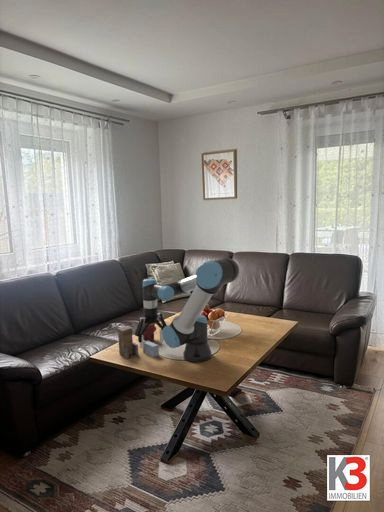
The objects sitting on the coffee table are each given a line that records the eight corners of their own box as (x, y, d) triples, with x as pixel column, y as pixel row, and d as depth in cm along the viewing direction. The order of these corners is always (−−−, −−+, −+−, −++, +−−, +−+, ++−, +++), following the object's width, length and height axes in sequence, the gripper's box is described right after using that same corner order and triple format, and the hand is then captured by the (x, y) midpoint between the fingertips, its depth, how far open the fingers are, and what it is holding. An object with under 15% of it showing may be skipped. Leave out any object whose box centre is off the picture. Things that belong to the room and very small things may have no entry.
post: (118, 354, 206) (116, 329, 204) (129, 350, 211) (127, 325, 209) (126, 358, 199) (125, 332, 197) (138, 355, 204) (136, 329, 202)
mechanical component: (158, 338, 229) (154, 344, 220) (143, 337, 231) (138, 343, 222) (157, 319, 228) (152, 324, 218) (142, 319, 230) (137, 323, 220)
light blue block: (159, 355, 202) (158, 344, 202) (153, 357, 200) (153, 346, 199) (148, 350, 210) (147, 340, 209) (143, 352, 208) (142, 342, 207)
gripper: (164, 301, 211) (165, 336, 214) (127, 310, 195) (129, 348, 198) (172, 303, 206) (173, 339, 208) (134, 313, 189) (136, 352, 192)
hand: (152, 344), depth 203 cm, fingers open, 13 cm apart
